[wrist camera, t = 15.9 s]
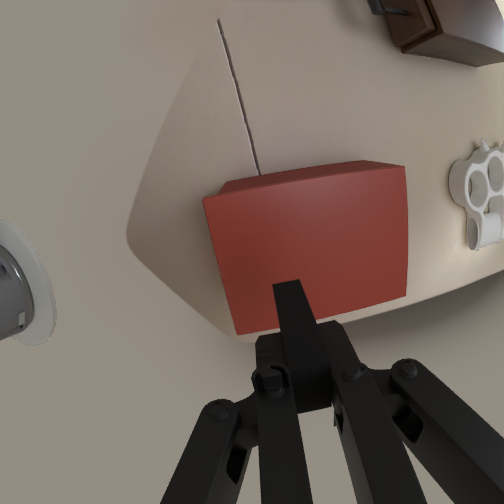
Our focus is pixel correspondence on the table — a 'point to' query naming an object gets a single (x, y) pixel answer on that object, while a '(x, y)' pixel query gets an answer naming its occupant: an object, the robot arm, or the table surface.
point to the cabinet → (463, 33)
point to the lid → (312, 243)
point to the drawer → (405, 18)
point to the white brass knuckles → (481, 194)
